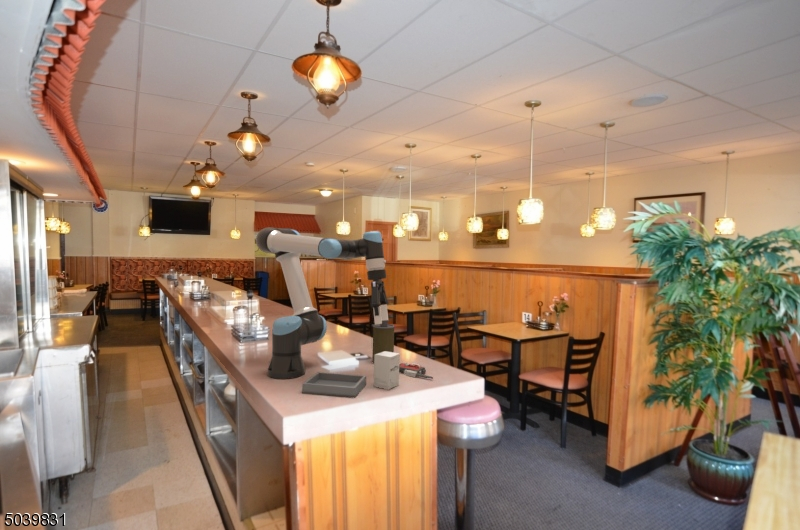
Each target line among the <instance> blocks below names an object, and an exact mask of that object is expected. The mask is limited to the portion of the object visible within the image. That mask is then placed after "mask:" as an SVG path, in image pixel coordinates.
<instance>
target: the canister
mask: <svg viewBox="0 0 800 530" xmlns="http://www.w3.org/2000/svg"><path fill="white" fill-rule="evenodd" d="M389 322H390V320H389V319H388V320H383V321H382V324H375V323H374V324H372V332H371V340H370V341H371V342H370V343H372V360H371V363H372V362H373V363H374V355H375V354H378V353H381V352H384V351H387V352H394V353H395V351H394V350H395V348H394V347H395V325H394V324H389ZM373 363H372V364H373Z"/></svg>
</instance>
